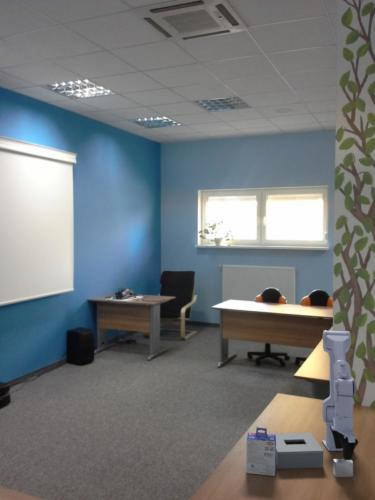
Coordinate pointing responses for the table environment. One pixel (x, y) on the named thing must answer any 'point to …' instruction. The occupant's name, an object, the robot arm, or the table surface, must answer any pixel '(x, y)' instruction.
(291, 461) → the ballot box
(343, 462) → the block
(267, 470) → the ink cartridge box
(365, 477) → the table surface
